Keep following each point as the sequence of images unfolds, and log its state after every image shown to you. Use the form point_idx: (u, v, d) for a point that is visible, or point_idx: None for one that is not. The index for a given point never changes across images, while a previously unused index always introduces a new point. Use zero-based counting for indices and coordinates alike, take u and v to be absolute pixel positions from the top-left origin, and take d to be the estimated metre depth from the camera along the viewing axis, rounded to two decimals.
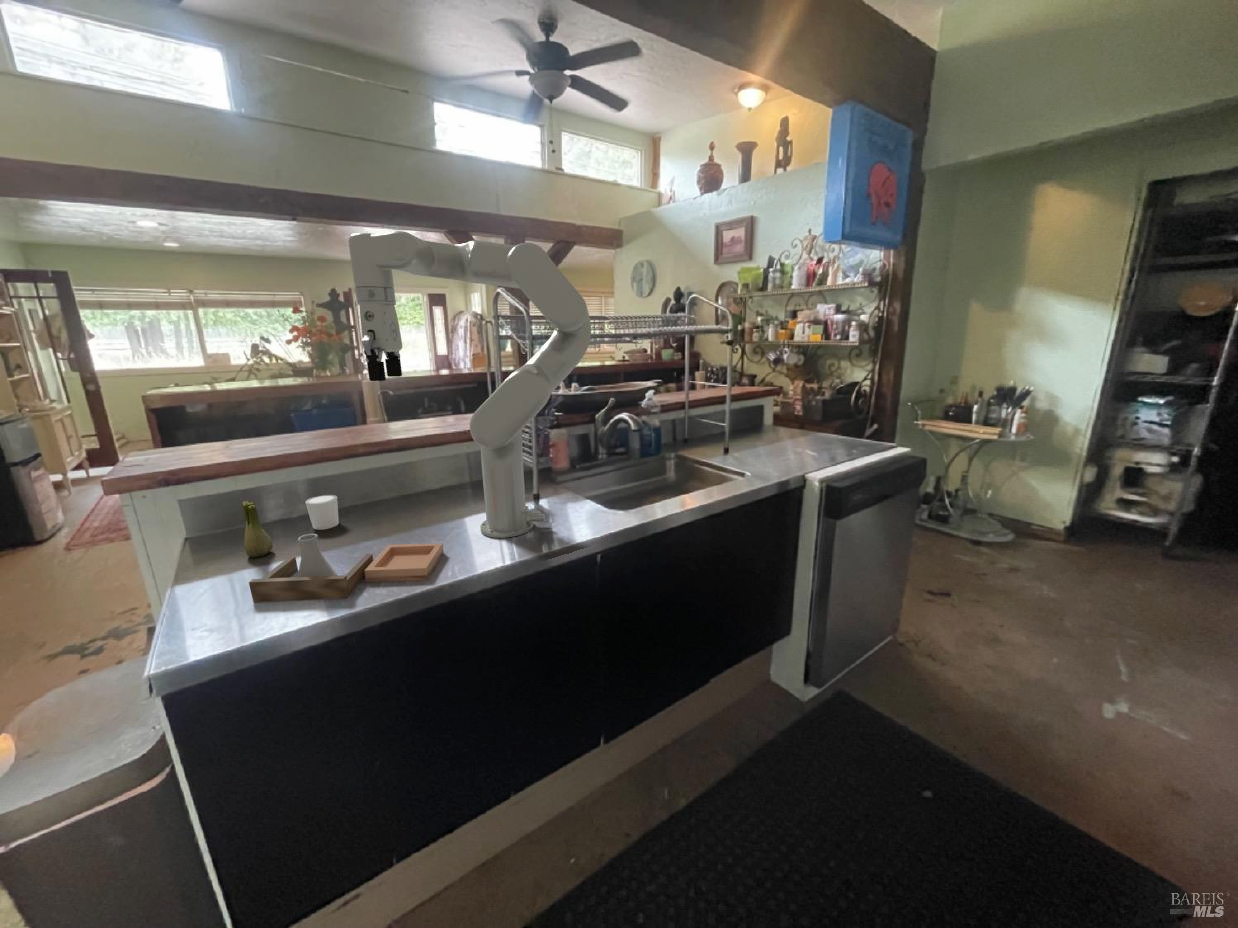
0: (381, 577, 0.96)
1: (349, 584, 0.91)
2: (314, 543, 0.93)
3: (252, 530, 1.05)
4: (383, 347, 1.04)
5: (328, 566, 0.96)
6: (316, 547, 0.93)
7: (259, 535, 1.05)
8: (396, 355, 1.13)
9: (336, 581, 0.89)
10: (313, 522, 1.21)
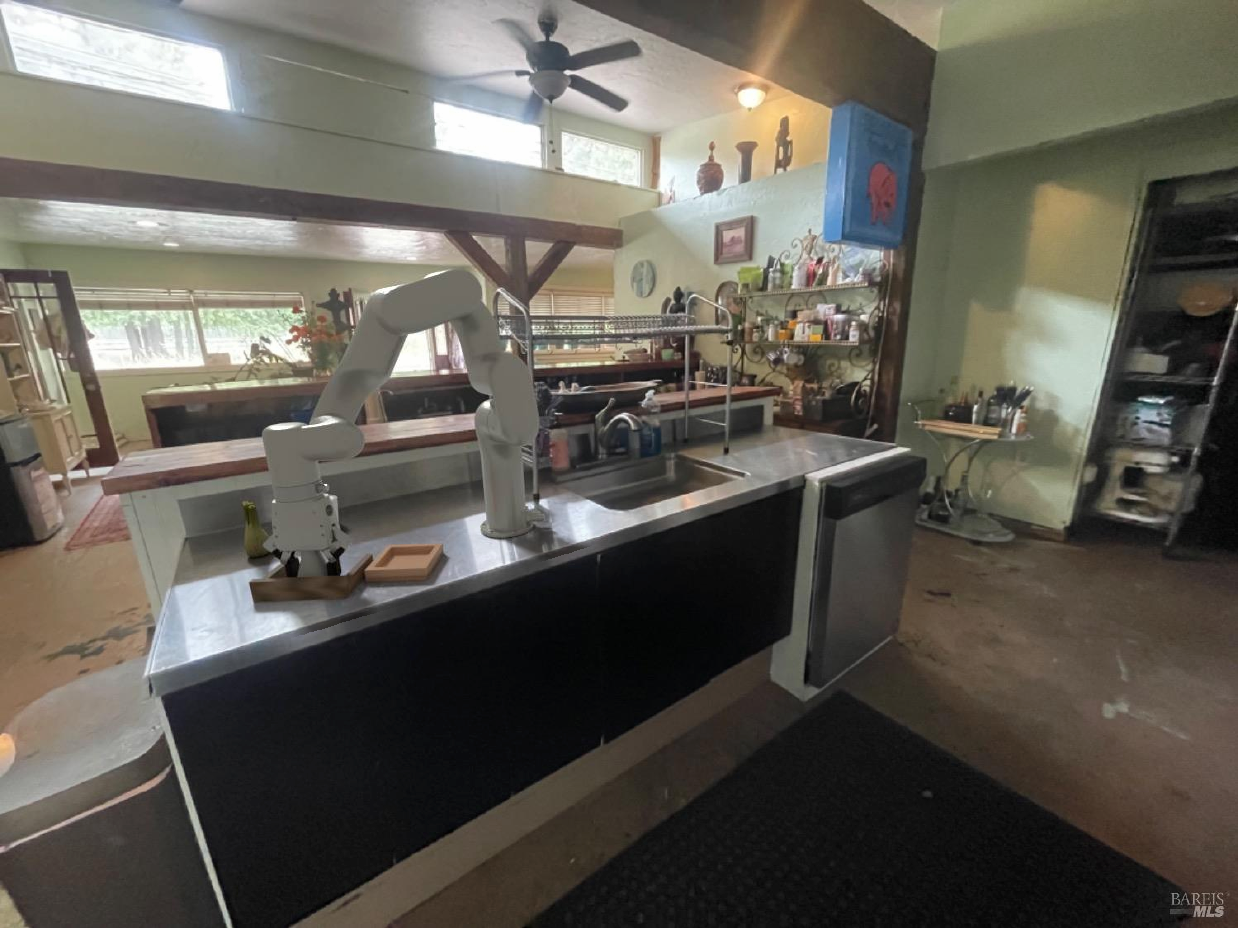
0: (381, 577, 0.96)
1: (349, 584, 0.91)
2: None
3: (252, 530, 1.05)
4: None
5: None
6: None
7: (260, 535, 1.05)
8: (295, 553, 0.94)
9: (336, 581, 0.89)
10: None
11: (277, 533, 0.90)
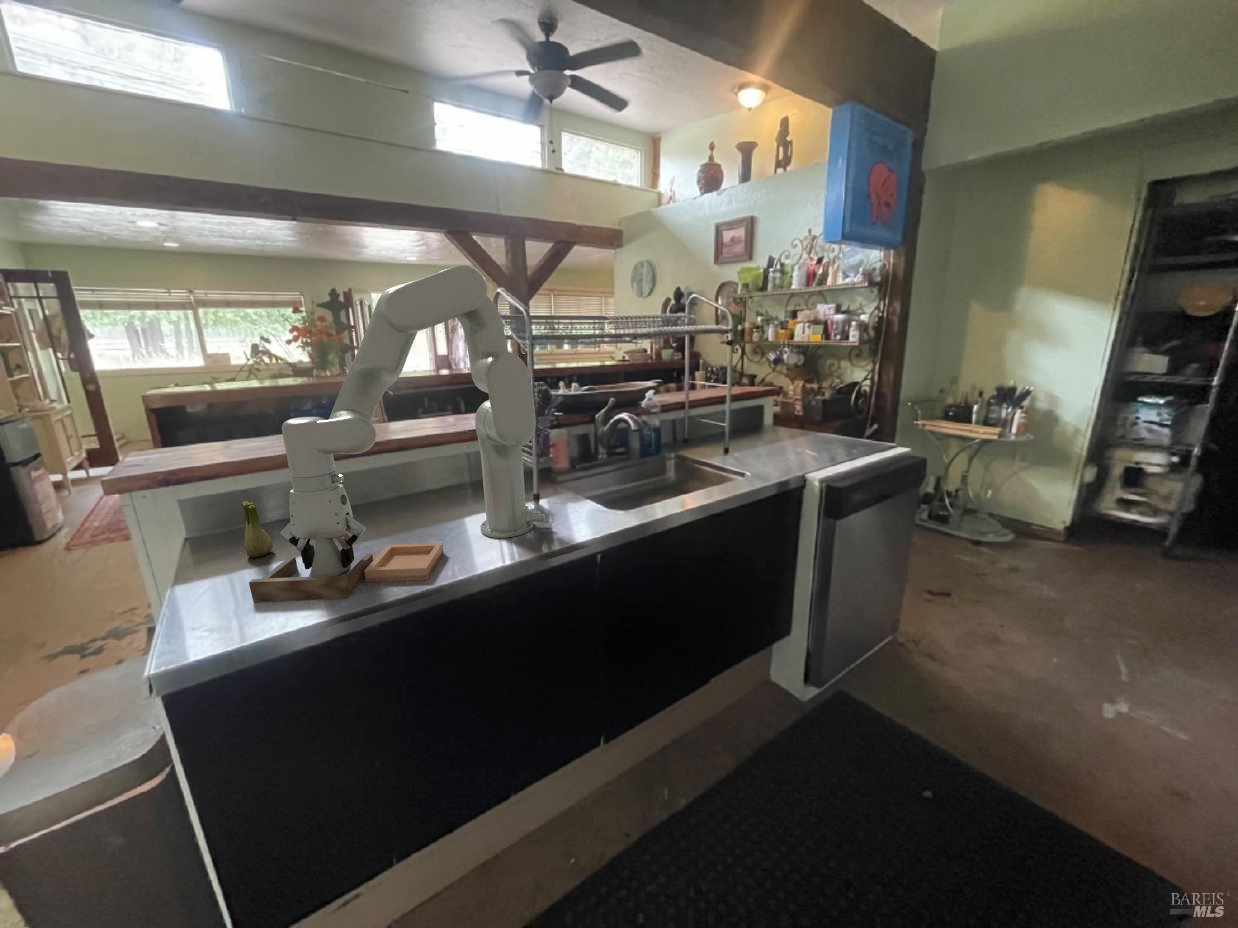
0: (381, 577, 0.96)
1: (349, 584, 0.91)
2: None
3: (252, 530, 1.05)
4: None
5: None
6: None
7: (260, 535, 1.05)
8: (310, 541, 1.00)
9: (336, 581, 0.89)
10: None
11: (294, 521, 0.95)
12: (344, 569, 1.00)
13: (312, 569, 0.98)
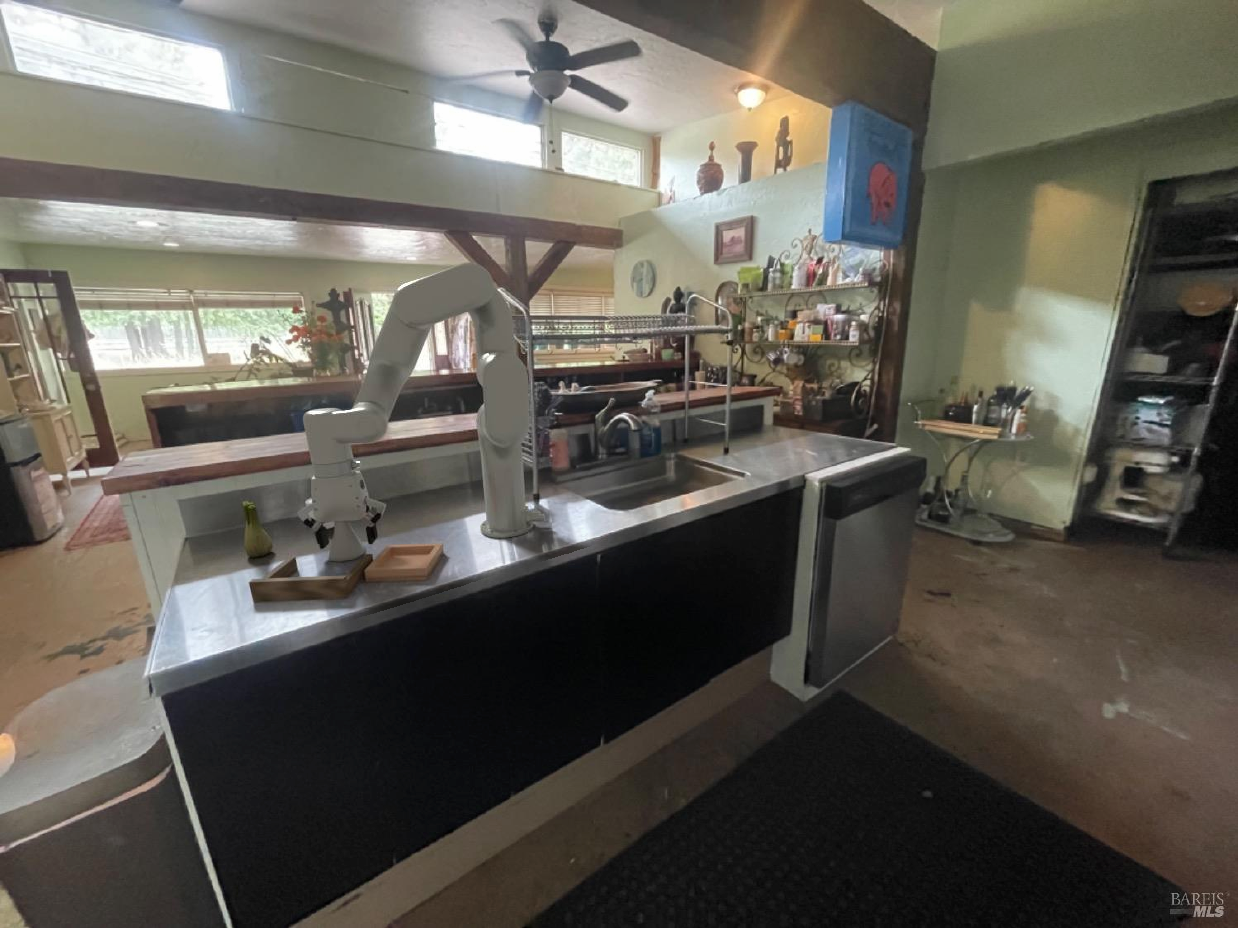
0: (381, 577, 0.96)
1: (349, 584, 0.91)
2: None
3: (252, 530, 1.05)
4: (370, 508, 1.08)
5: (357, 539, 1.08)
6: (347, 521, 1.06)
7: (260, 535, 1.05)
8: (323, 523, 1.06)
9: (336, 581, 0.89)
10: None
11: (316, 506, 1.02)
12: (360, 554, 1.07)
13: (330, 553, 1.05)
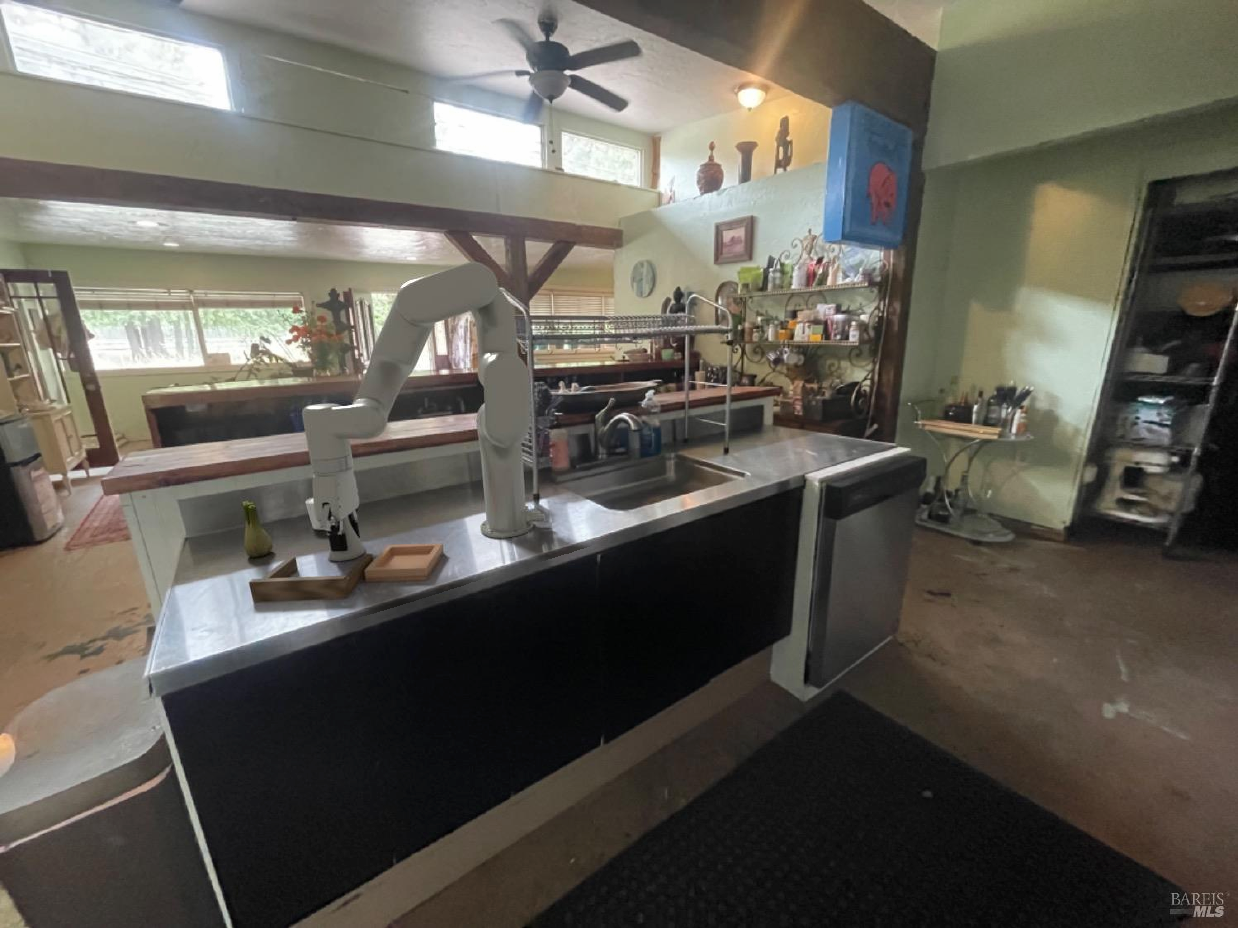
0: (381, 577, 0.96)
1: (349, 584, 0.91)
2: (346, 517, 1.05)
3: (252, 530, 1.05)
4: None
5: (357, 538, 1.08)
6: (347, 521, 1.06)
7: (260, 535, 1.05)
8: None
9: (336, 581, 0.89)
10: (313, 522, 1.21)
11: (340, 503, 1.01)
12: (360, 553, 1.07)
13: (330, 553, 1.05)
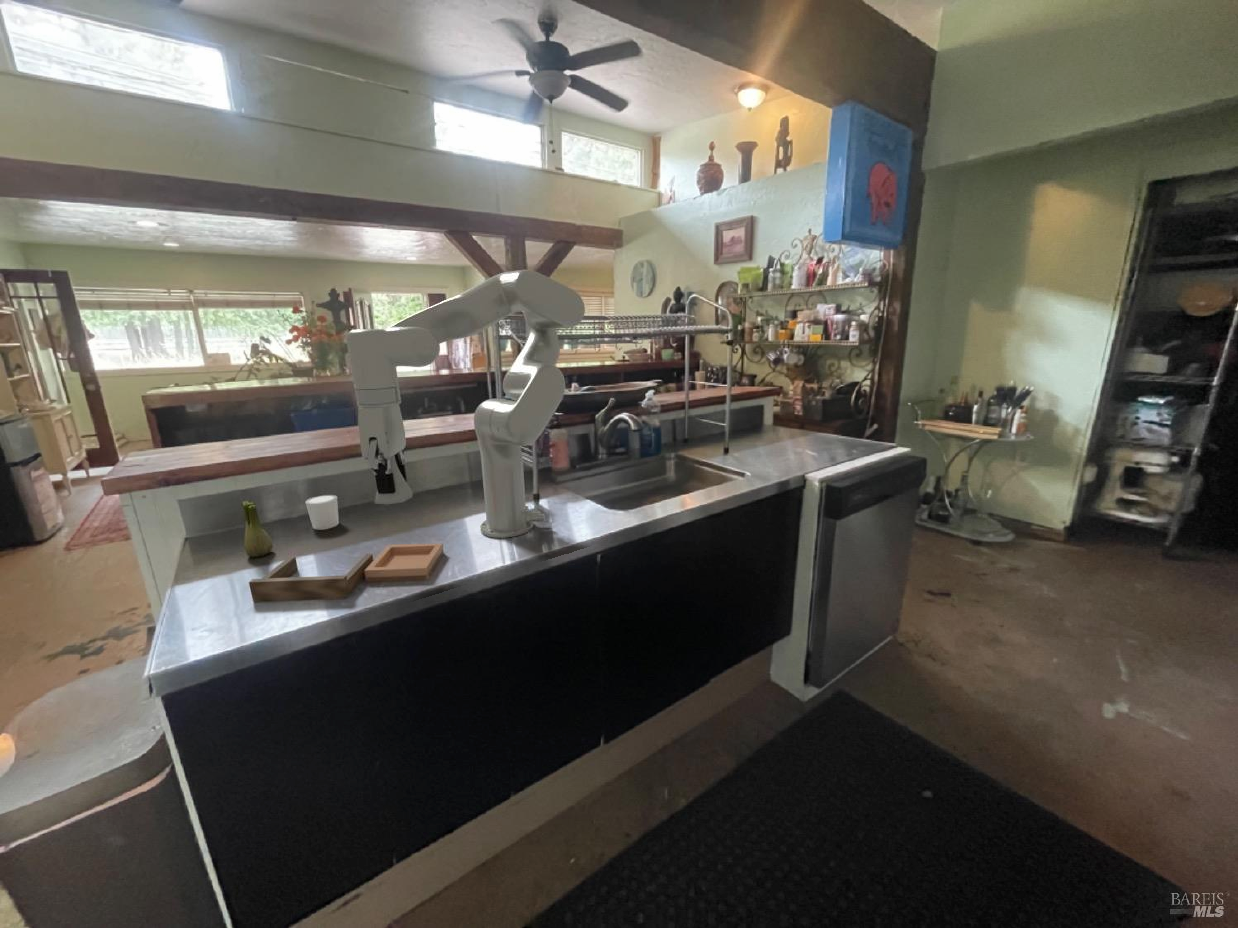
0: (381, 577, 0.96)
1: (349, 584, 0.91)
2: (392, 457, 0.96)
3: (252, 530, 1.05)
4: None
5: (404, 481, 0.99)
6: (394, 461, 0.97)
7: (260, 535, 1.05)
8: None
9: (336, 581, 0.89)
10: (313, 522, 1.21)
11: (387, 439, 0.92)
12: (408, 497, 0.98)
13: (377, 496, 0.96)
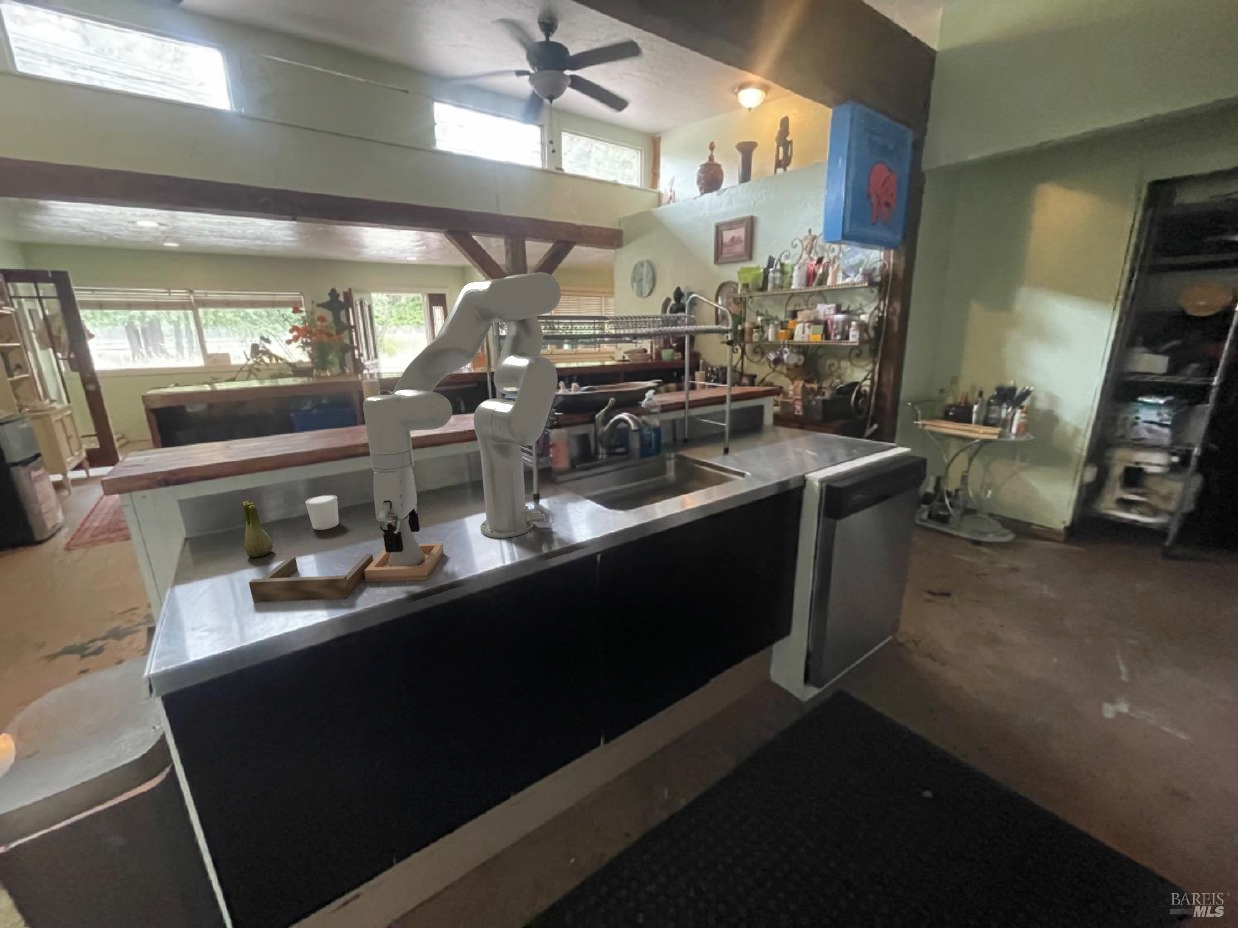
0: (381, 577, 0.96)
1: (349, 584, 0.91)
2: (407, 523, 0.99)
3: (252, 529, 1.05)
4: None
5: (417, 545, 1.02)
6: (408, 526, 1.00)
7: (260, 535, 1.05)
8: None
9: (336, 581, 0.89)
10: (313, 522, 1.21)
11: (401, 501, 0.94)
12: (421, 561, 1.01)
13: (391, 560, 0.99)
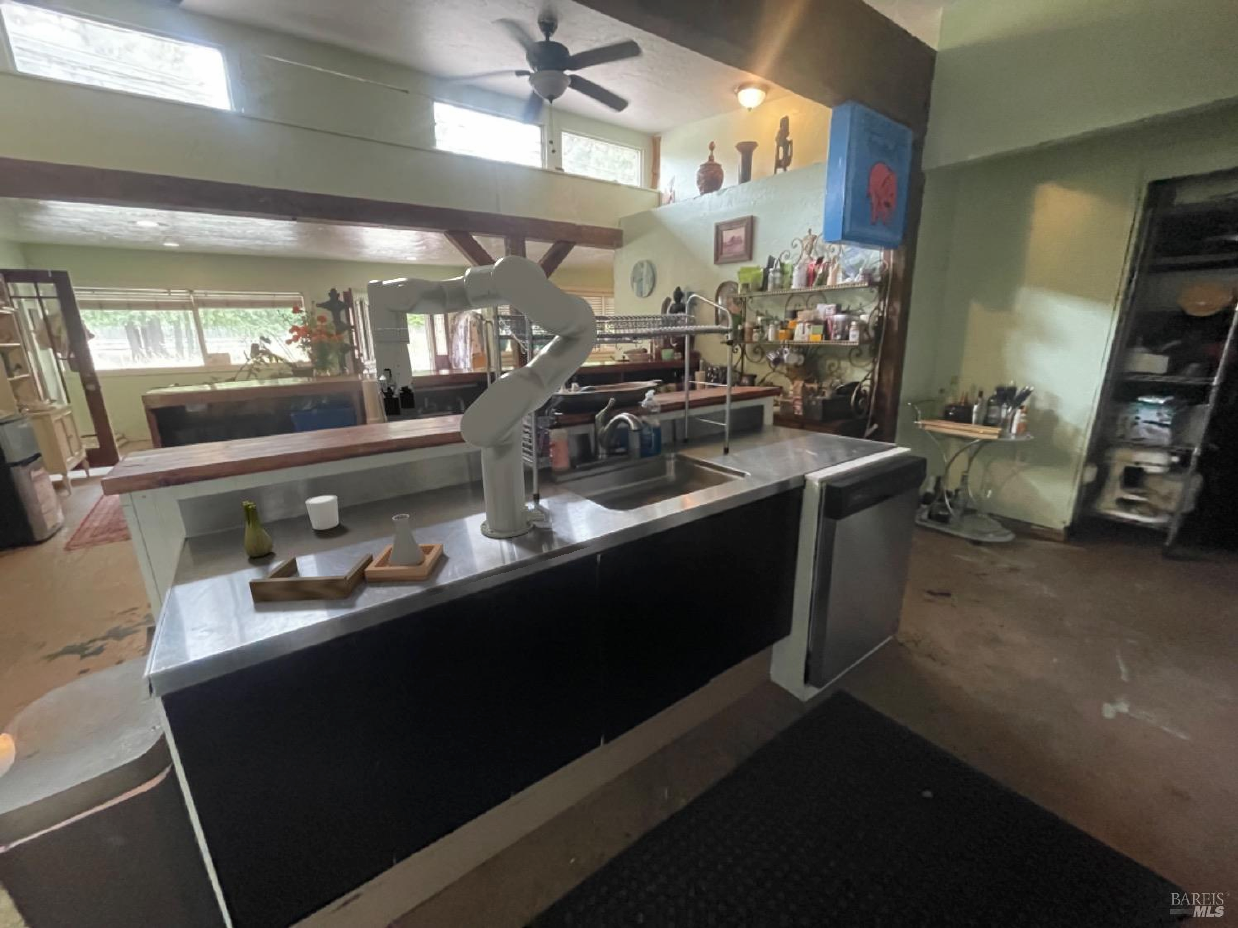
0: (381, 577, 0.96)
1: (349, 584, 0.91)
2: (407, 523, 0.99)
3: (252, 529, 1.05)
4: None
5: (417, 545, 1.02)
6: (408, 526, 1.00)
7: (260, 535, 1.05)
8: None
9: (336, 581, 0.89)
10: (313, 522, 1.21)
11: (399, 371, 1.12)
12: (421, 561, 1.01)
13: (391, 560, 0.99)
